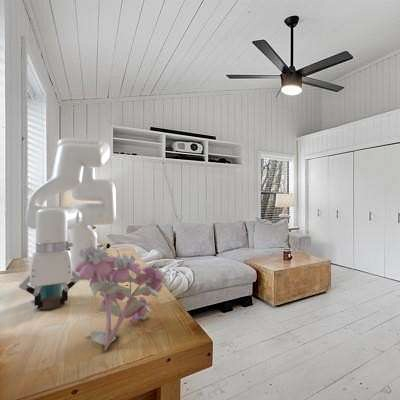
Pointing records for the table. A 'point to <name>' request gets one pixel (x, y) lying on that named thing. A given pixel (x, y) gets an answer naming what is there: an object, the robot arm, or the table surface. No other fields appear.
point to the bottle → (50, 290)
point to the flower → (117, 287)
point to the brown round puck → (51, 302)
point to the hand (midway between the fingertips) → (51, 304)
